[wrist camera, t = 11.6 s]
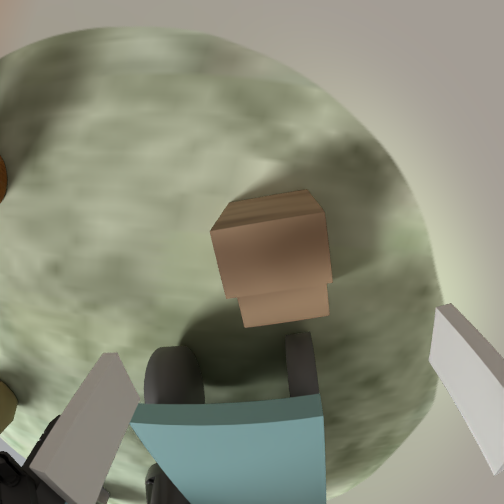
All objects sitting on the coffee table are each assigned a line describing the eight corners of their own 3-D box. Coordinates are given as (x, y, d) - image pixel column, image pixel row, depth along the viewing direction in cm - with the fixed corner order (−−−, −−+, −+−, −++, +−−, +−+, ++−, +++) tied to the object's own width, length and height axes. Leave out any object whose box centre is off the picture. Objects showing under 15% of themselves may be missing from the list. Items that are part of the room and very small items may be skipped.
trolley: (319, 450, 33) (329, 572, 16) (221, 457, 35) (203, 573, 18) (306, 311, 26) (336, 513, 9) (165, 328, 28) (84, 495, 11)
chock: (319, 284, 26) (336, 340, 18) (249, 295, 26) (240, 353, 19) (306, 189, 23) (324, 211, 16) (229, 202, 24) (209, 231, 16)
